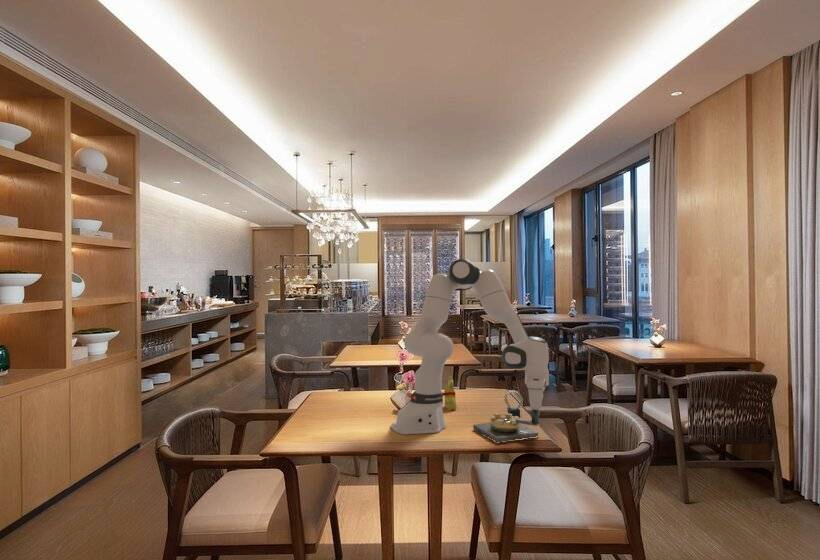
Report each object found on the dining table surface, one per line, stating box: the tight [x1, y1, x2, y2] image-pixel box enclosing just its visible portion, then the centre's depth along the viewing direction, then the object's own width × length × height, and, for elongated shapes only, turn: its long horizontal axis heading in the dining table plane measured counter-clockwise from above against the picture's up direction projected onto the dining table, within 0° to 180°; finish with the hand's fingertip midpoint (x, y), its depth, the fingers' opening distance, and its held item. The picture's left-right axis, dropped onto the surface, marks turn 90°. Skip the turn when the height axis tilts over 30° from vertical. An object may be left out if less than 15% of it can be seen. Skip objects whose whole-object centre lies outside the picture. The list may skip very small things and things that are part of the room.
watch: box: [504, 389, 524, 417], centre depth 211 cm, size 6×8×11 cm
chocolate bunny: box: [443, 376, 457, 411], centre depth 224 cm, size 7×11×15 cm, turn 8°
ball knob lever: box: [489, 409, 540, 432], centre depth 184 cm, size 19×11×9 cm, turn 58°
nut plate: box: [472, 421, 539, 442], centre depth 186 cm, size 18×18×2 cm
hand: (536, 415), depth 183 cm, fingers closed
